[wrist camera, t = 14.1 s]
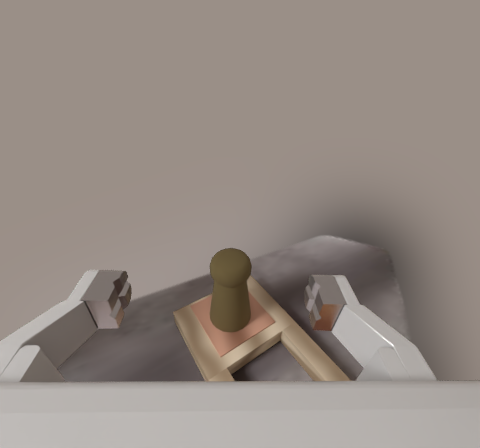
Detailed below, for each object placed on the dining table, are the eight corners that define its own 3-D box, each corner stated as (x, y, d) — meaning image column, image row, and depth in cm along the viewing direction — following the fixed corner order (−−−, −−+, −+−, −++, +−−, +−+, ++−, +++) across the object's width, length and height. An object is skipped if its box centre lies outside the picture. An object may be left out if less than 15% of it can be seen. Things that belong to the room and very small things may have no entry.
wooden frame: (266, 501, 22) (269, 495, 21) (175, 322, 37) (172, 311, 36) (357, 403, 29) (364, 393, 28) (249, 284, 44) (250, 273, 43)
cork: (200, 317, 35) (195, 260, 29) (226, 290, 39) (226, 235, 33) (235, 340, 32) (236, 283, 26) (258, 309, 37) (264, 253, 30)
